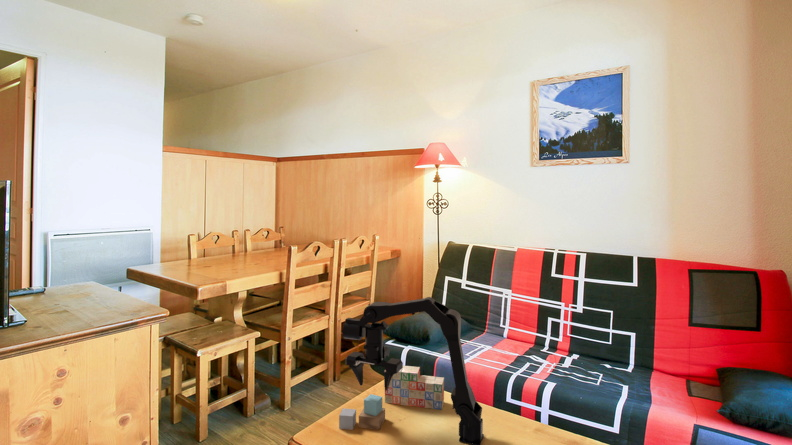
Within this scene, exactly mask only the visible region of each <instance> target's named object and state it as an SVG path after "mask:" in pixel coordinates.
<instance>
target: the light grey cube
mask: <svg viewBox="0 0 792 445" xmlns="http://www.w3.org/2000/svg"><path fill="white" fill-rule="evenodd" d="M356 423H357V409H356V408H342V409H341V411H340V413H339V415H338V429H339V430H350V431H351V430H352V431H353V430H354V428H355V425H356Z"/></svg>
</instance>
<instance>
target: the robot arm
mask: <svg viewBox="0 0 792 445" xmlns="http://www.w3.org/2000/svg"><path fill="white" fill-rule="evenodd" d="M423 312H425V313H426V314H428V316H429V317H430V318H431V319H432V320H433V321H434V322H435V323H437V324H438V325H439V327H440V329H441V333H442V335H443V337H444V339H445V340H446V342H447V346H448V347H447V348H448V352H449V358H450V363H451V370H452V375H453V381H454V387H453V388H452V390H451V393H450V399H451V402H452V410H454V411H455V413H456V415H458V416H459V418H460V421H459V423H458V436H459V438H458V441H459V442H460V443H465V444H469V445H481V444H482V441H483V439H484V436H485V433H483V432H484V431H483V430H484V429H483V428H484V424H483V423H484V421H483V420H484V418H482V412H483V407H482V406H481V404H480V403H479V402H478V401H477V400H476V396H475V393H474V391H473V388H472V386H471V384H470V383H469V380H468V375H467V369H466V364H465V358H464V353H463V347H462V340H461V335H462V334H461V331H462V318H461V317H462V316H461V314H460V312H458V311H457V310H455V309H451V308H449V307H448V306H446V305H445V304H443V303H441V302H439V301H437V300H435V299H434V298H433V297H431V296H426V297H424V298H420V299H412V300H405V301H399V302H387V301H373V302H371V304H368V305H367V306H365V308H364V310H363V312H362V313H363V315H362V317H360V318H352V317H347V318H345V322H344V324H343V328H342V330H341V332H342V334H341V335H342V338H343V339H349V340H356V341H357V340H358V341H362V339H363V338H364V337H365V344H364V345H363V350H365V352H364V353H365V354H364V353H363V352H359V351H352V352H351V353H350V354H348V355H347V356H346V357H345V365H346V366H348V368H350V369H351V370H352V371H353V373H354V376H355V378H356V379H357V381H358V382H357V383H359V386H363V385H364V364H366V365H372V366H377V367H383V368H384V373H383V381H384V382H383V384H384V385H383V386H384V392H385V391H387V389H388V387H389V384H390V381H391V378H392V376H393V375H394V374H397V373H398V372H399V371H400V370H401V369H402V368H403V366H404V362H403V361H402V359H399V358H393V357H391V358H390V359H388V360H385V359H386V358H387V357H390V352H391V347H390V346H386V345H385V342H383V340H384V338H383V337H384V336H383V334H384V331H386V330H388V328H389V327H390V324H388V323H387V322H386V321H385V320H387V319H389V318H391V317H395V316H402V315H409V314H417V313H423ZM383 359H384V360H383ZM385 371H386V372H385Z"/></svg>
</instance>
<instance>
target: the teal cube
mask: <svg viewBox="0 0 792 445" xmlns="http://www.w3.org/2000/svg"><path fill="white" fill-rule="evenodd" d="M382 408H383V396H380V395H376V394H372V393H370V394H369V395H368V396H366V397H365V398H364V399H363V409H364V413H365V414H369V415H373V416H377V415H378V414H379V413H380V412H381V411H382Z"/></svg>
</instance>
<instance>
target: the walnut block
mask: <svg viewBox="0 0 792 445" xmlns="http://www.w3.org/2000/svg"><path fill="white" fill-rule="evenodd" d="M385 420H386V407H382V411H381V412H380V413H379V414H378V415H377V416H373V415H369V414H365V413H364V408H363V409H362V410H361V411H360V413H359V415H358V428H364V429H370V430H377V431H380V430H381V427H382V426H383V424H384V422H385Z"/></svg>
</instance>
